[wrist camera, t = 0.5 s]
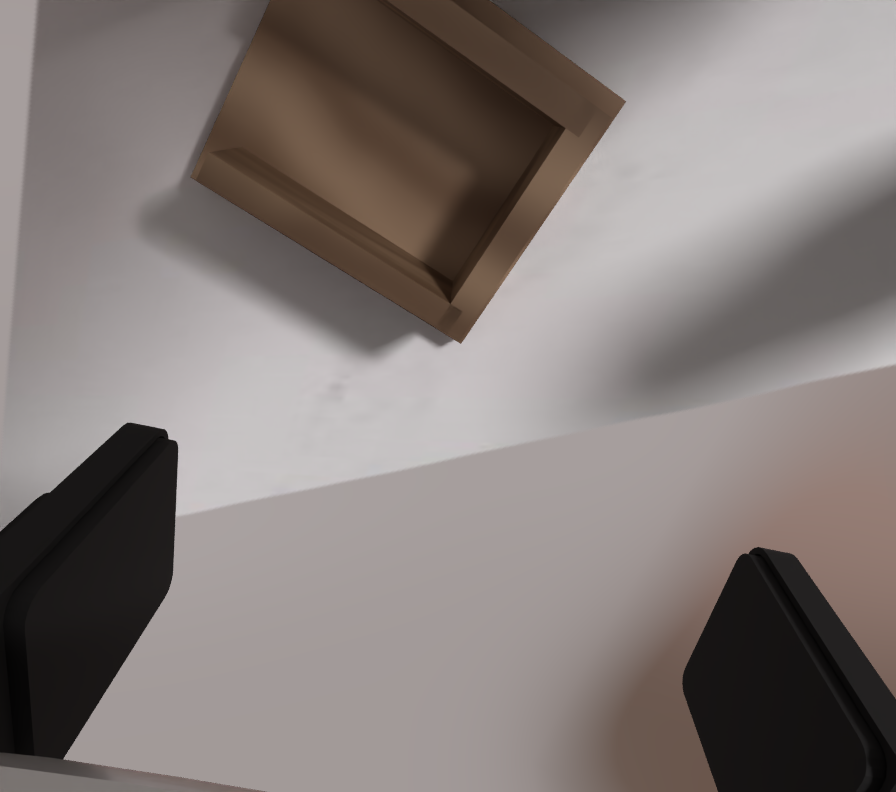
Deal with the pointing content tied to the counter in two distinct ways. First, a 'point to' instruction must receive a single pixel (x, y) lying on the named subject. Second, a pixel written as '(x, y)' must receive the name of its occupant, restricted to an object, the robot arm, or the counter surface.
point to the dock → (405, 143)
